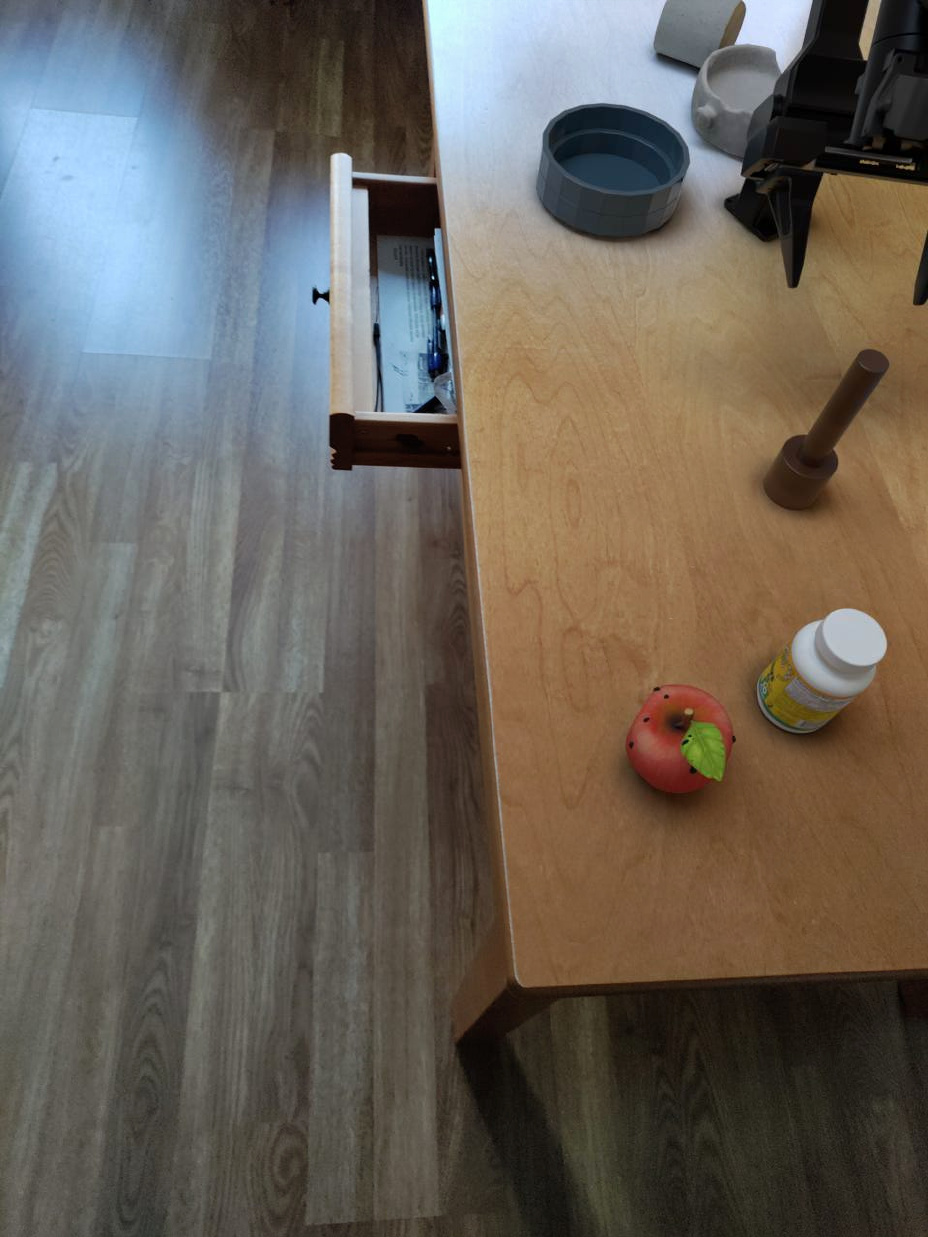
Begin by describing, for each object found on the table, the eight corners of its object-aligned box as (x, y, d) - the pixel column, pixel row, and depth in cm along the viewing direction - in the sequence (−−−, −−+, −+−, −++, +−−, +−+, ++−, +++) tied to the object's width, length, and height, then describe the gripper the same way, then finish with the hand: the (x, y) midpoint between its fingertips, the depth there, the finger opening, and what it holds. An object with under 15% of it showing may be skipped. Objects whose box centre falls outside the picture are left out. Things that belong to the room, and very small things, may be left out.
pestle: (791, 458, 71) (873, 328, 59) (827, 495, 70) (919, 369, 58) (752, 479, 70) (827, 350, 58) (788, 517, 68) (874, 393, 56)
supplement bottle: (805, 750, 59) (874, 694, 50) (739, 702, 60) (795, 639, 52) (842, 696, 61) (913, 634, 53) (777, 651, 62) (837, 583, 54)
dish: (720, 74, 98) (735, 27, 94) (830, 124, 95) (851, 77, 91) (658, 131, 92) (672, 84, 88) (774, 186, 89) (793, 139, 85)
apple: (592, 732, 58) (627, 670, 50) (678, 698, 60) (726, 632, 51) (647, 837, 55) (694, 790, 46) (735, 798, 57) (798, 745, 48)
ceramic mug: (712, 86, 97) (737, 11, 90) (646, 62, 98) (665, -14, 92) (741, 45, 102) (766, -29, 95) (678, 22, 103) (698, -52, 97)
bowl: (617, 136, 91) (629, 88, 87) (703, 214, 86) (720, 167, 82) (507, 174, 87) (513, 126, 82) (591, 259, 82) (602, 212, 77)
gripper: (822, -22, 50) (761, 265, 54) (1138, 23, 50) (1053, 305, 54) (763, 48, 61) (716, 283, 65) (1024, 85, 61) (960, 316, 65)
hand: (855, 296), depth 62 cm, fingers open, 9 cm apart
